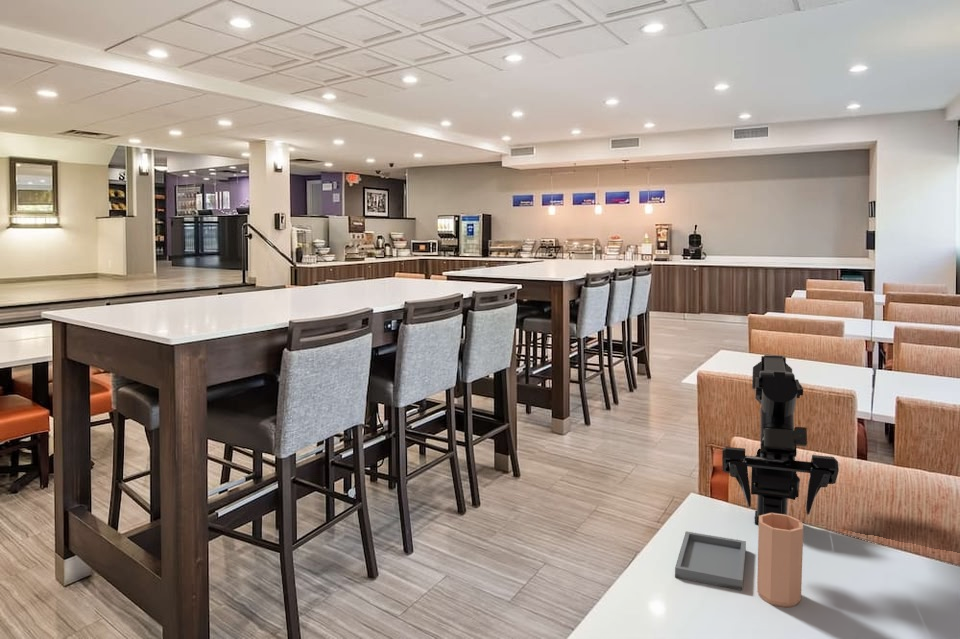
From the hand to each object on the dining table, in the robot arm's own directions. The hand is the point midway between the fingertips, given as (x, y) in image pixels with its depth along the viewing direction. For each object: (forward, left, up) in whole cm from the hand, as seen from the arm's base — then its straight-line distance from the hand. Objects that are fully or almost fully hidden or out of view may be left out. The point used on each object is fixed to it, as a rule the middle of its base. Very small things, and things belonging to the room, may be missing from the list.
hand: (778, 509), depth 106 cm
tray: (0, -11, -12) cm, 16 cm away
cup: (+7, 0, -12) cm, 14 cm away
